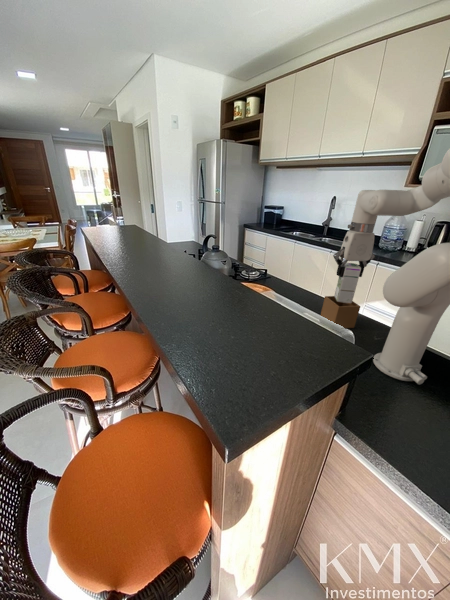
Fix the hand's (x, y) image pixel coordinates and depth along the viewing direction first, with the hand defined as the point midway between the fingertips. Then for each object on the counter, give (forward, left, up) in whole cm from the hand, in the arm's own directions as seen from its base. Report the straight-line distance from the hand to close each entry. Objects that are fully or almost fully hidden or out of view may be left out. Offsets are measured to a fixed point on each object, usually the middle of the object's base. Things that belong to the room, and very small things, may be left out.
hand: (348, 275), depth 95 cm
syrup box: (0, 0, -10) cm, 10 cm away
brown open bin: (0, 0, -20) cm, 20 cm away
